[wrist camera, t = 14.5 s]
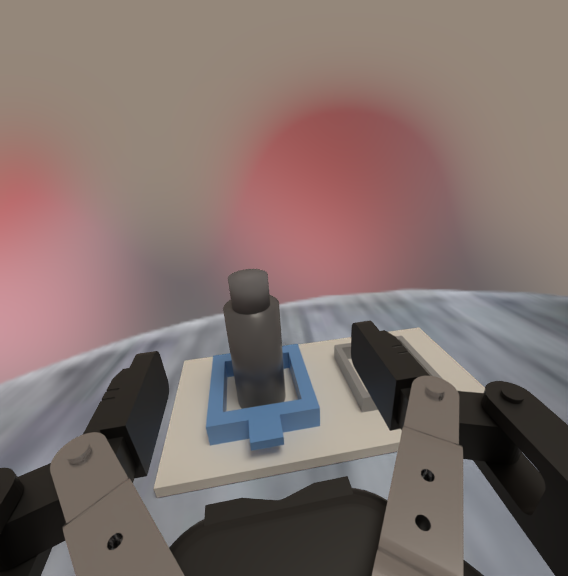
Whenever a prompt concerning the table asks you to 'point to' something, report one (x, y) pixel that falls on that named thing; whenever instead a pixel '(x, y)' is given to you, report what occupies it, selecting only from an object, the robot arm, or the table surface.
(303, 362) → the panel
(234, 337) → the stepped grey cylinder
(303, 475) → the table surface
